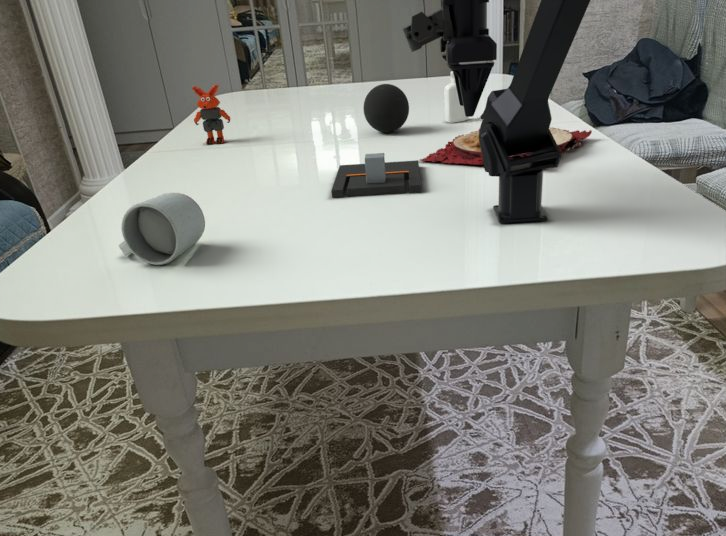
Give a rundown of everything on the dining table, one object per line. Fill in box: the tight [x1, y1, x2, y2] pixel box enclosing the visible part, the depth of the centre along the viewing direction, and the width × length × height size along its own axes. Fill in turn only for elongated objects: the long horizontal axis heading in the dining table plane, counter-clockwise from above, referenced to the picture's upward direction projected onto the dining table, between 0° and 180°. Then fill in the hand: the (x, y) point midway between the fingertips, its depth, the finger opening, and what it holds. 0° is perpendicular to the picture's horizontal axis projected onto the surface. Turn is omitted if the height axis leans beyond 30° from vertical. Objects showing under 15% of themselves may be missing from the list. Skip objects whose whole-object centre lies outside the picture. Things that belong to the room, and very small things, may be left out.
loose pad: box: [346, 152, 406, 197], centre depth 102 cm, size 7×9×5 cm
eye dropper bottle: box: [443, 70, 469, 124], centre depth 145 cm, size 4×6×12 cm
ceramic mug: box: [118, 192, 206, 266], centre depth 80 cm, size 11×8×8 cm
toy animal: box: [191, 83, 231, 146], centre depth 140 cm, size 8×6×12 cm
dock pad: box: [331, 159, 422, 199], centre depth 106 cm, size 16×14×1 cm
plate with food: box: [419, 126, 593, 166], centre depth 119 cm, size 24×26×4 cm
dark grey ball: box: [363, 83, 410, 134], centre depth 139 cm, size 10×10×10 cm
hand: (466, 110), depth 91 cm, fingers open, 9 cm apart
